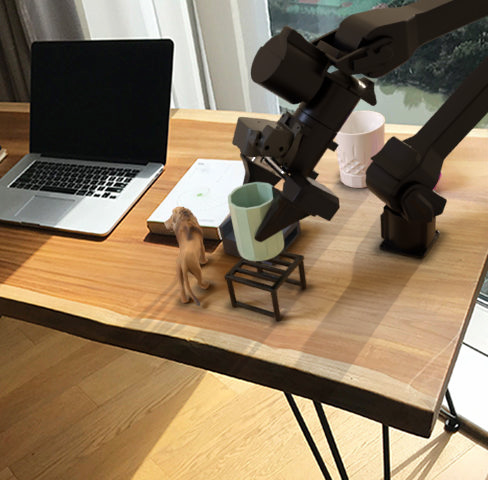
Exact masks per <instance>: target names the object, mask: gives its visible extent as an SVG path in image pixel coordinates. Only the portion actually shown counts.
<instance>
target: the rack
mask: <svg viewBox="0 0 488 480" xmlns="http://www.w3.org/2000/svg"><path fill="white" fill-rule="evenodd" d="M277 256H280V258H284V259H287V260H292V261H287V260H284V259H280V258H279V259H276V258H271V259H268V260H264V261H266V262H270V263H274V264H273V265H277V266H281V267H286V269H282V268H278V267H275V266H272V265H268V264H264V263H262V262H261V261H250V260H247V259H245V258H243V257H240V259H239V260H238V261H237V262H236V263H235V264H234V265H233V266H232V268H230V269H229V270H228V272H226V274H224V280H225V282H226V286H227V291H228V296H229V300H230V305H231V308H237V307H239V308H242V309H245V310H248V311H252V312H255V313H258V314H261V315H264V316H267V317H271V318H274V321H275V322H280V321H281V319H282V316H281V309H280V304H279V297H278V290H279V289H280V287H281V286H282V285H283V284H284V283H288V284H291V285H294V286H298V287H300V289H301V290H303V291H305V290H307V288H308V286H307V278H306V270H305V263H304V262H305V261H304V260H305V256H304V255H303V254H297V253H294V252H290V251H287V250H286V251H281V252H280V253H279V254H278V255H277ZM243 266H247V267H250V268H254V269H256V271H254V270H250V269H246V268H243ZM297 268H298V277H299V280H297V279H293V278H289V277H290V276H291V275H292V274H293V272H294V271H295V270H296V269H297ZM237 273H238V274H241V275H245V276H248V277H252V278H257V279H258V280H263V281H266V282H270V283H273V284H272V285H271V284H267V283H263V282H261V281H257V280H253V279H249V278H247V277H243V276H240V275H239V276H238V275H236V274H237ZM234 283H236V284H240V285H243V286H248V287H251V288H254V289H258V290H261V291H264V292H268V293H270V297H271V298H270V299H271V303H272V310H273V311H271V310H267V309H264V308H261V307H258V306H255V305H252V304H248V303H244V302H241V301H238V300H237V297H236V293H235V288H234Z"/></svg>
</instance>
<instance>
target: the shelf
mask: <svg viewBox="0 0 488 480" xmlns="http://www.w3.org/2000/svg"><path fill="white" fill-rule="evenodd" d="M300 221H301V220H300ZM300 221H298V222H296V223H294V224H292V225H290V226H288V227H287V228H285V229H283V230H282V231H283V238H284V248H283V250H282V251H286V252H287V250H288V249H289V247H291V245H292V244H293V243H294V242H295V241H296V240H297V239H298V237H300V235H301V234H302V228H301V222H300ZM218 230H219V234H220V238H221V242H222V248H223V252H224V254H228V255H229V256H234V257H239V258H242V256H241V255H240V254H239V251H238V248H237V243H236V238H235V234H234V229H233V224H232V219H231V214H229V216H228V217H227V218H226V219H224V221H223V222H221V223H220V225H218ZM273 258H276V259H280V258H281V257H280V256H275V257H273ZM261 262H262V264H264V265H267V266H273V265H275V264H274V263H270V262H266V261H261Z"/></svg>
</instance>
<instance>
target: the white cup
mask: <svg viewBox="0 0 488 480" xmlns="http://www.w3.org/2000/svg"><path fill="white" fill-rule="evenodd" d="M337 133H338V134H337V135H336V137H335V138H334V141H335V142H336V143H337V144H339V146H338V147H337V149H336V150H335V152H336V159H337V165H338V167H339V168H338V169H339V175H340V181H341V183H343V185H344V186H347V187H350V188H353V189H354V188H355V189H363V188H367V186H366V182H365V180H366V174H365V173H366V170H367V168H368V167H369V165H370V164H371V163H372V162H373V161H372V160H371V157H372V156H374V155H376V154H377V153H378V152H379V151H380V150H381V149H382V148H383V146H384V145H385V143H386V140H385V138H386V137H385V136H386V118H385V116H384V115H383V114H381V113H380V112H377V111H373V110H356V111H355V110H354V111H353V112H352V113H351V114H350V116H349V117H348V119H347V120H346V122H345V123H344V125H343V126H342V128H341V129H340V131H339V132H337Z"/></svg>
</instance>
